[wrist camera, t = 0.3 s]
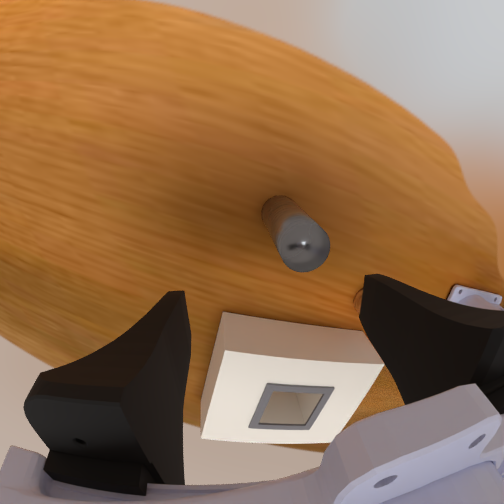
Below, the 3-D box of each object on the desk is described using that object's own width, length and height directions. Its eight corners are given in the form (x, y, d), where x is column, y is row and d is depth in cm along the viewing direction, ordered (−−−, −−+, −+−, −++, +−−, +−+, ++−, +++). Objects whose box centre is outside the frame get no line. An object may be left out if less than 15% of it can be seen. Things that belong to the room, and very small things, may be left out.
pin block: (362, 331, 25) (385, 365, 21) (320, 408, 28) (333, 443, 24) (223, 311, 23) (225, 352, 18) (201, 399, 26) (200, 440, 22)
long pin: (301, 200, 20) (336, 230, 14) (291, 234, 21) (320, 276, 15) (266, 191, 20) (289, 218, 14) (257, 226, 21) (274, 267, 15)
